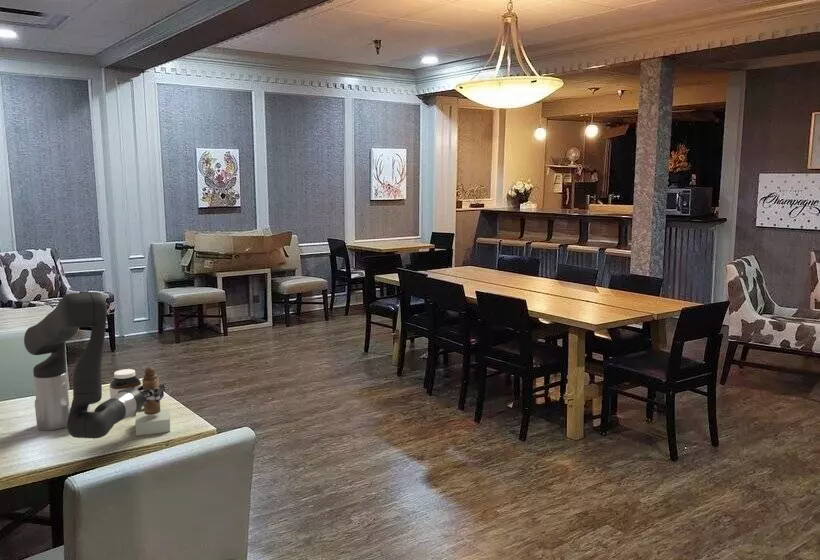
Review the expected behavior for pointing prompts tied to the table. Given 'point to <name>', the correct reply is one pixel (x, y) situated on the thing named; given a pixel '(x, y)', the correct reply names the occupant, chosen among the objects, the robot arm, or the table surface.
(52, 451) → the table surface
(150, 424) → the base block
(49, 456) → the table surface
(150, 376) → the pepper mill
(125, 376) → the spread jar
